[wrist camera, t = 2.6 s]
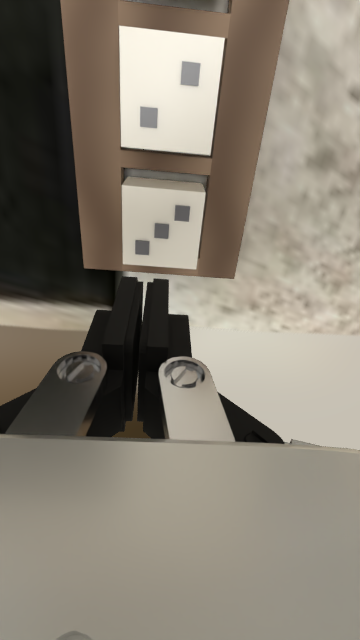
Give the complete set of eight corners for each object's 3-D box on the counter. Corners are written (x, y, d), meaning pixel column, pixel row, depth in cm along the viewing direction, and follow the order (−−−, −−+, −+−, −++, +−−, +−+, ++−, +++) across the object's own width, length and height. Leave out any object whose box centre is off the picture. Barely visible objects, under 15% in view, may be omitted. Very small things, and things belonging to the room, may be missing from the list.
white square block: (201, 183, 21) (205, 193, 19) (193, 253, 24) (196, 270, 21) (127, 176, 21) (121, 185, 18) (128, 248, 24) (122, 265, 21)
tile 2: (217, 48, 18) (225, 37, 15) (205, 149, 20) (210, 155, 18) (127, 38, 17) (118, 24, 15) (127, 142, 20) (120, 147, 17)
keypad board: (320, -196, 14) (334, -227, 13) (231, 271, 27) (233, 278, 26) (48, -241, 14) (35, -278, 12) (88, 260, 26) (84, 268, 25)
